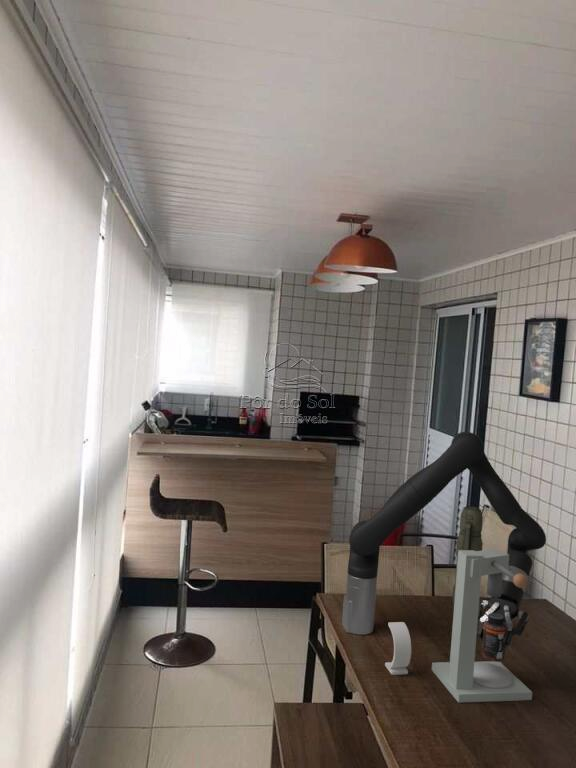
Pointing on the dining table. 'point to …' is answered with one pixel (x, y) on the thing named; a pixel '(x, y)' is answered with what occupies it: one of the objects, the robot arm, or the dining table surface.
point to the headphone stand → (399, 648)
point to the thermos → (469, 533)
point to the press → (462, 670)
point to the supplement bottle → (493, 638)
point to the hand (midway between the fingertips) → (491, 641)
